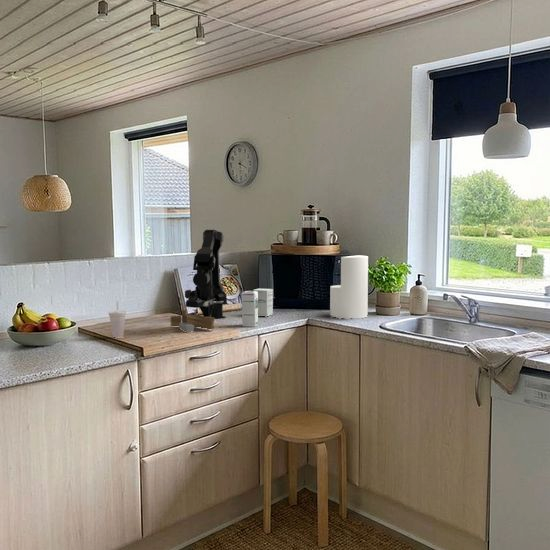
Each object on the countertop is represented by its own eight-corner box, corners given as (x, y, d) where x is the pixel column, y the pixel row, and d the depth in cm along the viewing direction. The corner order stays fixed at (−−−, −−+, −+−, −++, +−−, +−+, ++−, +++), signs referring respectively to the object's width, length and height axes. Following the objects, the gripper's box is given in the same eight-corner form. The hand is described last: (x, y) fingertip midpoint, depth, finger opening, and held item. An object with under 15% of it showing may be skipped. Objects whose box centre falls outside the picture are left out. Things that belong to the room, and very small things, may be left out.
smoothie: (111, 339, 208) (110, 302, 207) (107, 336, 214) (106, 300, 212) (128, 338, 211) (127, 301, 210) (124, 335, 217) (123, 299, 215)
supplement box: (252, 316, 262) (252, 289, 261) (259, 314, 269) (259, 288, 268) (267, 317, 259) (267, 290, 258) (273, 315, 266) (273, 288, 265)
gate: (190, 325, 235) (190, 314, 234) (214, 329, 226) (214, 317, 226) (187, 326, 233) (186, 314, 233) (211, 330, 225) (211, 318, 224)
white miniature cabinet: (255, 327, 234) (255, 292, 233) (241, 326, 235) (241, 292, 234) (258, 324, 240) (258, 290, 239) (245, 324, 241) (245, 290, 240)
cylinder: (373, 315, 265) (374, 255, 262) (358, 320, 250) (358, 257, 248) (340, 312, 274) (340, 255, 272) (323, 317, 259) (323, 256, 257)
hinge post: (170, 327, 233) (170, 310, 233) (186, 326, 237) (186, 309, 236) (172, 328, 232) (171, 311, 231) (188, 326, 235) (188, 310, 234)
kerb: (179, 329, 229) (179, 322, 229) (186, 328, 230) (186, 322, 230) (186, 333, 221) (186, 325, 221) (194, 332, 222) (193, 325, 222)
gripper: (204, 279, 240) (205, 315, 242) (174, 285, 225) (176, 323, 227) (225, 280, 235) (226, 317, 237) (196, 286, 219) (197, 326, 221)
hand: (206, 321), depth 230 cm, fingers closed
